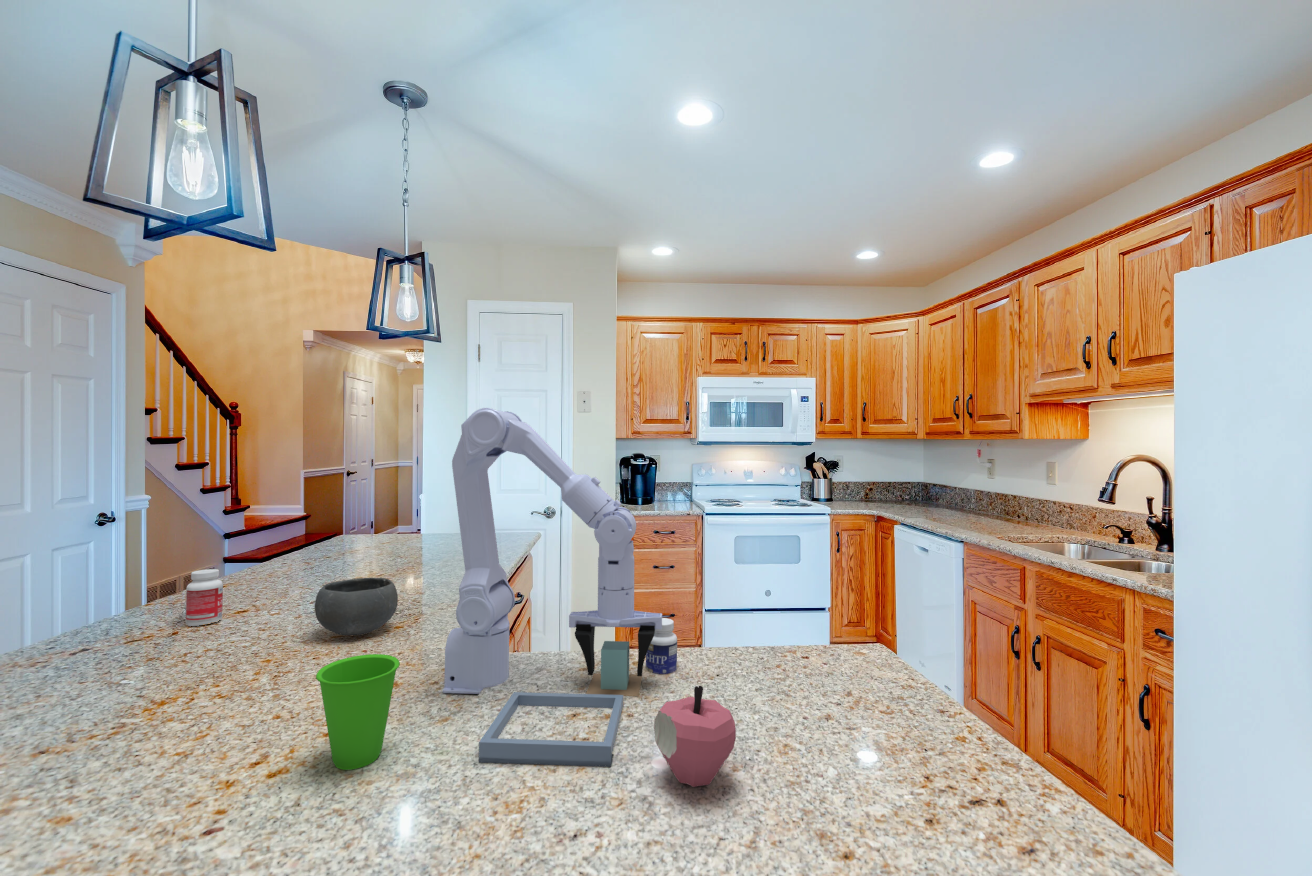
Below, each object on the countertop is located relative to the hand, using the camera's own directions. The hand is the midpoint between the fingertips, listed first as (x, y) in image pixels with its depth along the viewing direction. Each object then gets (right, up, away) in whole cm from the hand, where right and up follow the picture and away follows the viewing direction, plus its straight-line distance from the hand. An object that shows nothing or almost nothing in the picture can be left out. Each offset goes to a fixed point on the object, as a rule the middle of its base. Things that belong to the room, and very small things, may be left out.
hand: (615, 673), depth 88 cm
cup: (-30, -2, -20) cm, 36 cm away
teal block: (0, -2, 0) cm, 2 cm away
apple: (+11, -3, -24) cm, 26 cm away
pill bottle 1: (-91, -3, +32) cm, 96 cm away
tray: (-7, -2, -14) cm, 15 cm away
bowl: (-55, -3, +27) cm, 61 cm away
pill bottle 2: (+7, -3, +7) cm, 10 cm away
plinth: (0, -3, 0) cm, 3 cm away
